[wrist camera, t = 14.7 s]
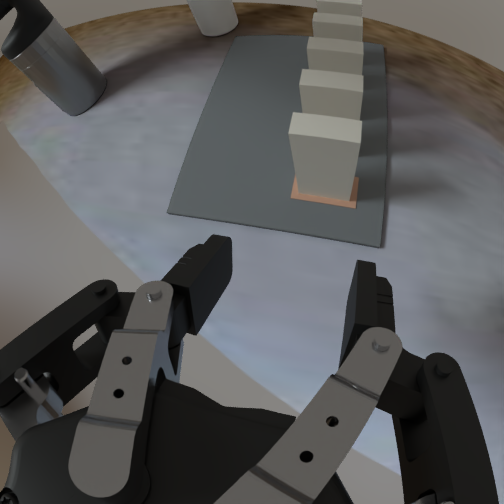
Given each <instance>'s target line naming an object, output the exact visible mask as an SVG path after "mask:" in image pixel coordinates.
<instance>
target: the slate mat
mask: <svg viewBox="0 0 504 504" xmlns="http://www.w3.org/2000/svg"><path fill="white" fill-rule="evenodd" d="M309 37H312V36H291V35H254V36H236V37H235V39H234V41H233V43H232V45H231V47H230V49H229V52H228V54H227V56H226V58H225V60H224V62H223V65H222V67H221V69H220V71H219V74H218V76H217V78H216V81H215V83H214V85H213V87H212V90H211V92H210V95H209V97H208V99H207V102H206V104H205V107H204V109H203V112H202V114H201V117H200V119H199V122H198V124H197V127H196V129H195V132H194V135H193V137H192V140H191V143H190V145H189V148H188V151H187V154H186V156H185V159H184V162H183V165H182V168H181V171H180V173H179V176H178V179H177V182H176V185H175V188H174V191H173V194H172V197H171V200H170V204H169V207H168V210H167V213H168V214H172V215H179V216H186V217H193V218H200V219H206V220H213V221H220V222H226V223H233V224H239V225H246V226H252V227H258V228H265V229H271V230H277V231H283V232H289V233H295V234H301V235H307V236H313V237H319V238H325V239H330V240H336V241H342V242H347V243H353V244H359V245H364V246H370V247H375V248H379V247H380V242H381V233H382V223H383V212H384V200H385V185H386V164H387V92H386V72H385V58H384V47H383V45H380V44H374V43H368V42H363V52H364V55H363V68H362V76H363V97H362V106H361V113H360V121H362V131H361V144H360V150H359V155H358V161H357V166H356V171H355V176H354V181H353V186H352V191H351V196H350V200H349V201H344V200H338V199H332V198H326V197H320V196H313V195H307V194H300V193H299V192H298V186H297V180H296V174H295V168H294V163H293V157H292V151H291V146H290V140H289V135H288V132H289V128H290V123H291V119H292V114H293V112H297V113H303V112H302V104H301V96H300V88H299V82H300V78H301V73H302V69H309V66H308V56H307V44H308V39H309Z"/></svg>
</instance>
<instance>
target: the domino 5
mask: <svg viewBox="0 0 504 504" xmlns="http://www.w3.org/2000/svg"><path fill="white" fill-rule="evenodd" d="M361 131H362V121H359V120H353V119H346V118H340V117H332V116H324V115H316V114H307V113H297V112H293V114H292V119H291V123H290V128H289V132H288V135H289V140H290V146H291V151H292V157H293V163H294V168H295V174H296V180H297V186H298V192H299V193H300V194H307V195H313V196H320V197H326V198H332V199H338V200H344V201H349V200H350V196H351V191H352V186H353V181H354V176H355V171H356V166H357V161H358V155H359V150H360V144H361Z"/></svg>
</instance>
